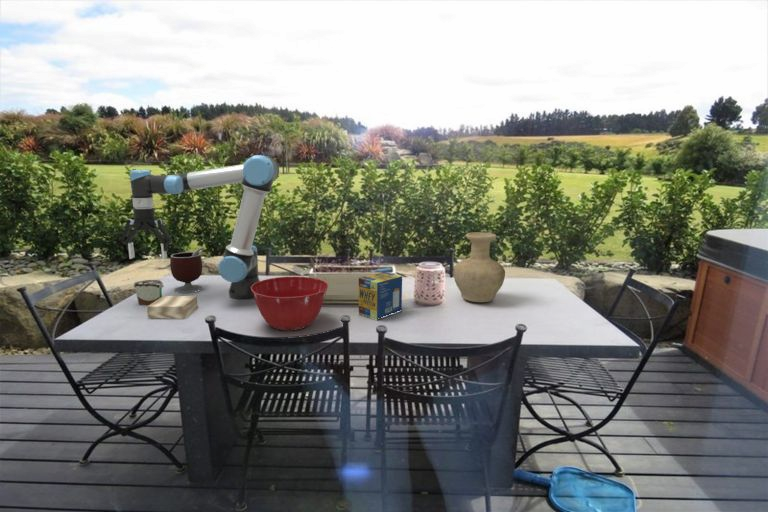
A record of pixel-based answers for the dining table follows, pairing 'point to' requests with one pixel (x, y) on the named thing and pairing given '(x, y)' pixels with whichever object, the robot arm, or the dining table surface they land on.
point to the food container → (148, 291)
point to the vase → (479, 270)
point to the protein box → (380, 294)
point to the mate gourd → (186, 270)
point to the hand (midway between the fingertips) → (148, 258)
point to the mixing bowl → (289, 300)
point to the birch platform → (172, 307)
